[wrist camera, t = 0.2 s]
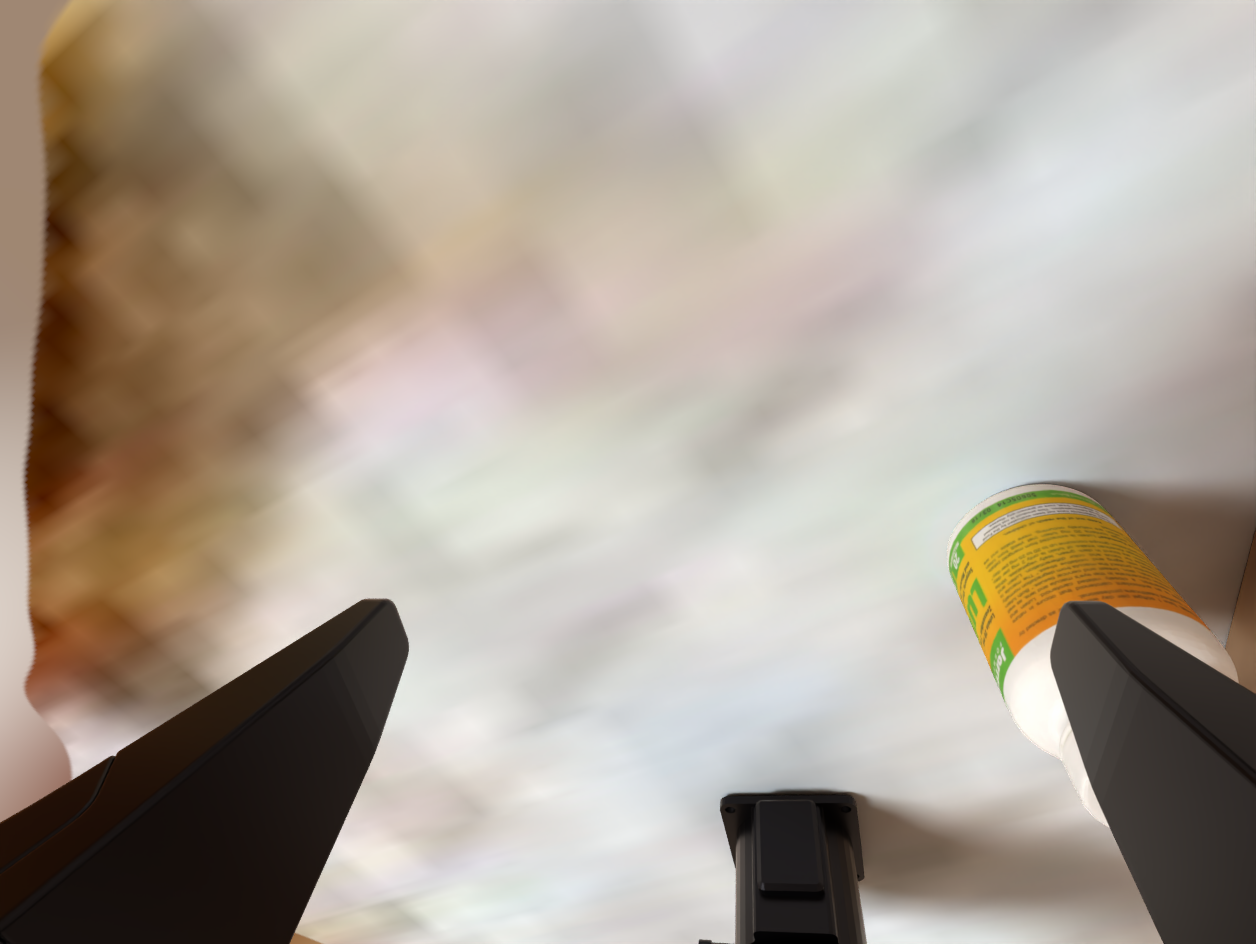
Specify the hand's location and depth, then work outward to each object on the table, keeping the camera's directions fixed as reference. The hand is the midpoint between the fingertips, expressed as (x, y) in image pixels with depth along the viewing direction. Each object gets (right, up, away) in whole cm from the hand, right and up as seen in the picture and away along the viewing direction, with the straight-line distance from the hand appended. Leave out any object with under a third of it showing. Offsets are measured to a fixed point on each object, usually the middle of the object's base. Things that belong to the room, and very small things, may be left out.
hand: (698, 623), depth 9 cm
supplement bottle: (+13, 0, +15) cm, 20 cm away
